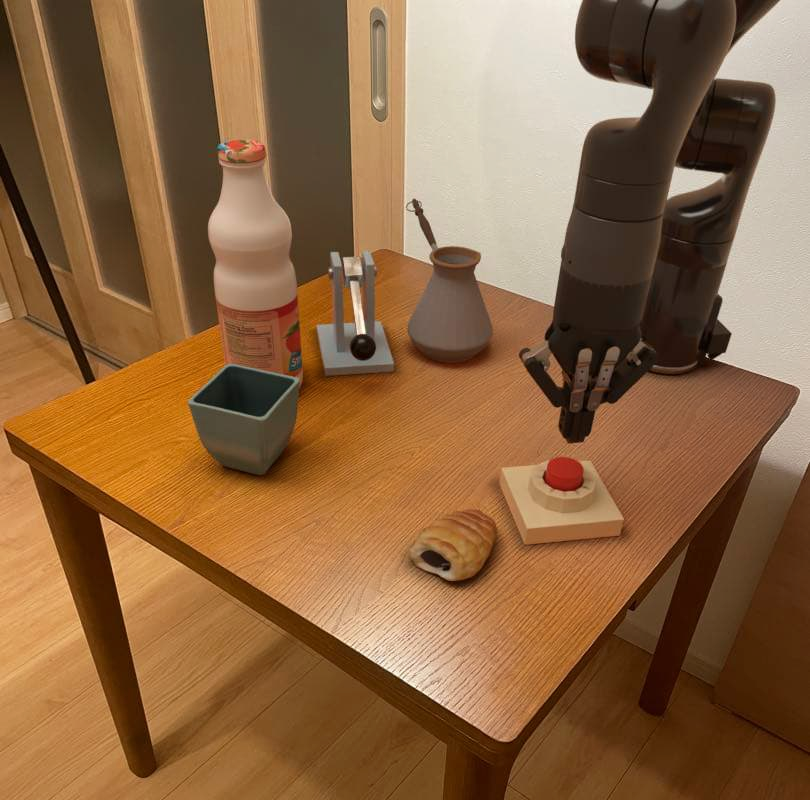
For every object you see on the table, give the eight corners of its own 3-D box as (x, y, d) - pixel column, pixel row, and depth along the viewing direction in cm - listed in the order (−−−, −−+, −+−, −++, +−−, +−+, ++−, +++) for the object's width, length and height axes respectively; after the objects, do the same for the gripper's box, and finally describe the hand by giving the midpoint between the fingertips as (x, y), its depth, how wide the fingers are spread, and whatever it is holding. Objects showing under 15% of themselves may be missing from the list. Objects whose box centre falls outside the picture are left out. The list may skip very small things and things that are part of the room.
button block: (586, 476, 88) (593, 446, 85) (620, 535, 80) (628, 505, 78) (498, 483, 86) (502, 453, 84) (524, 545, 79) (529, 514, 76)
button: (574, 469, 82) (576, 455, 81) (585, 490, 80) (588, 476, 79) (540, 472, 82) (542, 458, 81) (551, 493, 79) (553, 479, 78)
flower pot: (306, 446, 91) (301, 376, 85) (271, 491, 84) (264, 419, 78) (237, 430, 93) (227, 361, 87) (198, 473, 86) (185, 402, 80)
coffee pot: (505, 362, 106) (518, 251, 96) (424, 375, 103) (429, 262, 93) (445, 295, 121) (451, 193, 111) (373, 305, 118) (373, 200, 108)
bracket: (394, 371, 104) (395, 276, 95) (324, 376, 102) (320, 280, 94) (380, 328, 112) (381, 238, 104) (316, 332, 111) (311, 241, 103)
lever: (376, 365, 98) (378, 350, 95) (350, 366, 97) (351, 352, 94) (363, 270, 102) (364, 253, 99) (338, 272, 102) (338, 255, 99)
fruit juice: (219, 373, 102) (184, 137, 84) (289, 359, 105) (271, 128, 87) (240, 410, 96) (207, 163, 77) (314, 394, 99) (299, 153, 80)
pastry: (455, 513, 82) (458, 484, 80) (512, 539, 80) (517, 510, 77) (403, 563, 77) (404, 534, 74) (463, 594, 74) (466, 564, 71)
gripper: (543, 285, 62) (517, 466, 73) (702, 278, 64) (652, 455, 75) (517, 248, 68) (496, 422, 79) (663, 242, 70) (622, 413, 81)
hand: (572, 438), depth 77 cm, fingers closed
